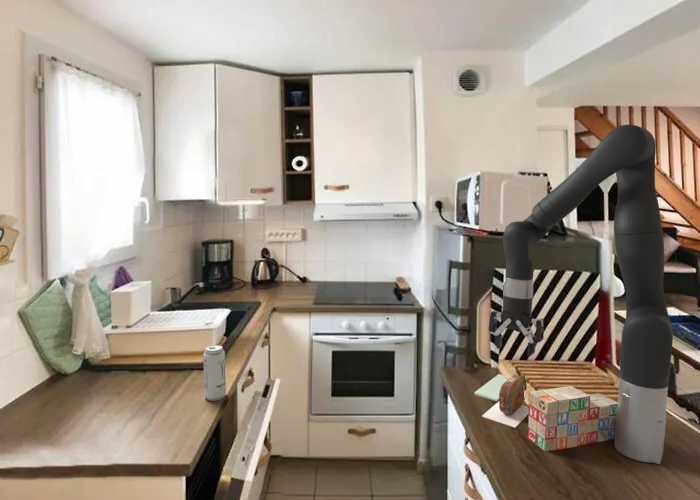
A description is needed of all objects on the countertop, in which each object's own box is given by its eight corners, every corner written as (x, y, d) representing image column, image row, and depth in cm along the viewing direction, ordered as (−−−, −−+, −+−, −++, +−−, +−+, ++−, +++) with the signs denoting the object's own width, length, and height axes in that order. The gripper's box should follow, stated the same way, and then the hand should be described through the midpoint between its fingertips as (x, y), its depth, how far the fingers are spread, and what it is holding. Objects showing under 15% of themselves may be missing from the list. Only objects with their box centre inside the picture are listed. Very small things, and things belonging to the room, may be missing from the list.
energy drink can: (222, 401, 125) (221, 351, 124) (201, 401, 125) (200, 351, 124) (228, 392, 131) (227, 344, 130) (208, 392, 131) (207, 344, 130)
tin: (507, 419, 115) (509, 389, 114) (496, 416, 117) (497, 386, 116) (526, 400, 127) (528, 372, 126) (516, 397, 129) (517, 370, 128)
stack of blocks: (597, 427, 113) (600, 381, 111) (618, 439, 107) (621, 391, 105) (526, 438, 107) (529, 390, 106) (544, 452, 101) (547, 402, 100)
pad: (519, 381, 141) (520, 379, 141) (496, 401, 126) (496, 399, 126) (498, 375, 145) (498, 373, 145) (474, 394, 131) (474, 392, 131)
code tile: (539, 404, 127) (540, 400, 127) (515, 431, 112) (515, 427, 112) (509, 395, 133) (509, 391, 133) (481, 419, 118) (481, 415, 117)
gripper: (549, 296, 117) (545, 354, 119) (497, 288, 126) (494, 342, 128) (540, 301, 111) (536, 361, 113) (487, 292, 120) (483, 348, 122)
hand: (514, 351), depth 120 cm, fingers open, 8 cm apart
